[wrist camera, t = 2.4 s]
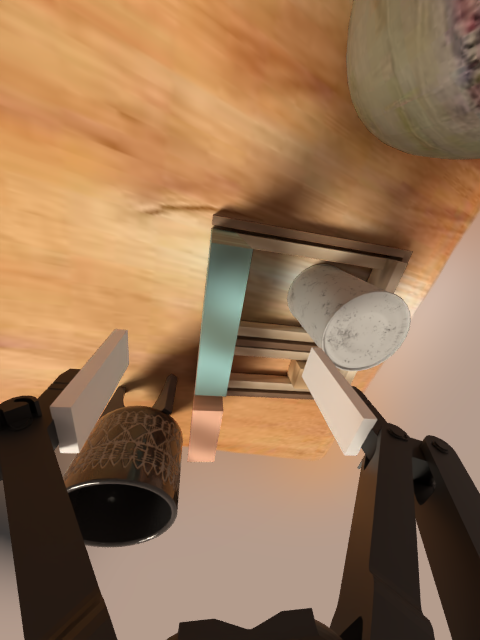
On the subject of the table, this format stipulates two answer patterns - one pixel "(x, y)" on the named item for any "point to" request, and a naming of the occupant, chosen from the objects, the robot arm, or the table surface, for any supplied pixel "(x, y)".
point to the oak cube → (297, 373)
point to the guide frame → (290, 344)
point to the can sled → (229, 290)
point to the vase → (417, 74)
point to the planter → (128, 473)
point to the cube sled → (211, 407)
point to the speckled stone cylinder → (348, 316)
